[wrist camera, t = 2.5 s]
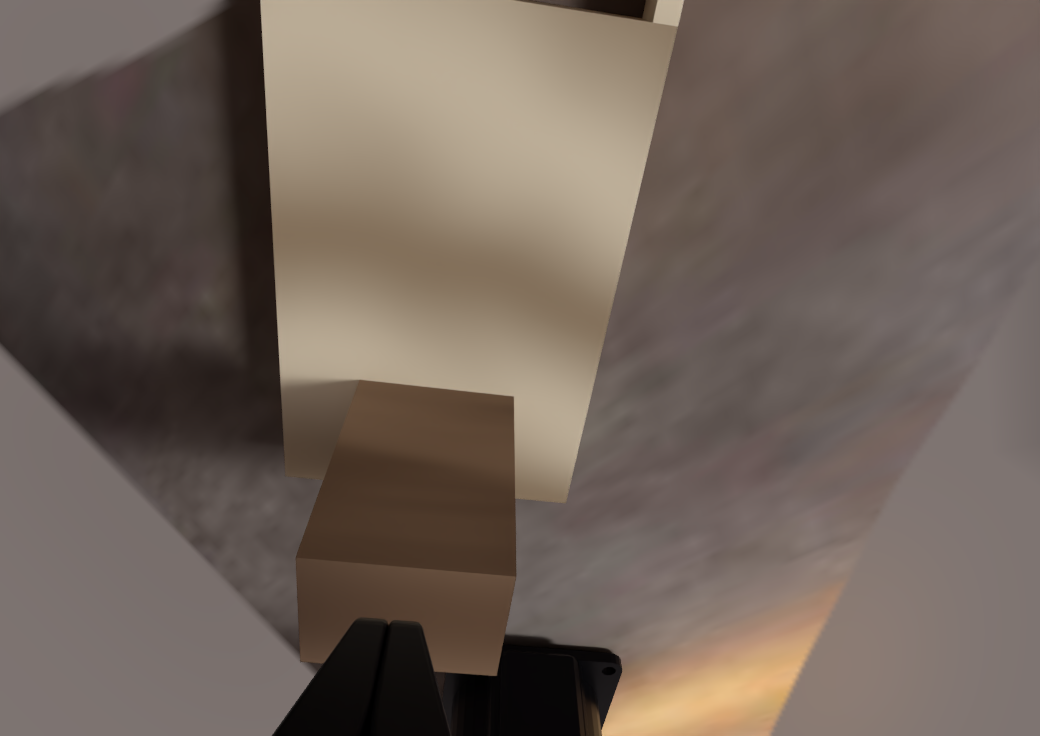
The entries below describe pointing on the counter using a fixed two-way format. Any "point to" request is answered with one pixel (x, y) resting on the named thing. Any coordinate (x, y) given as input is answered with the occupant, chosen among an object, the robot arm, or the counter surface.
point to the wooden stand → (444, 285)
